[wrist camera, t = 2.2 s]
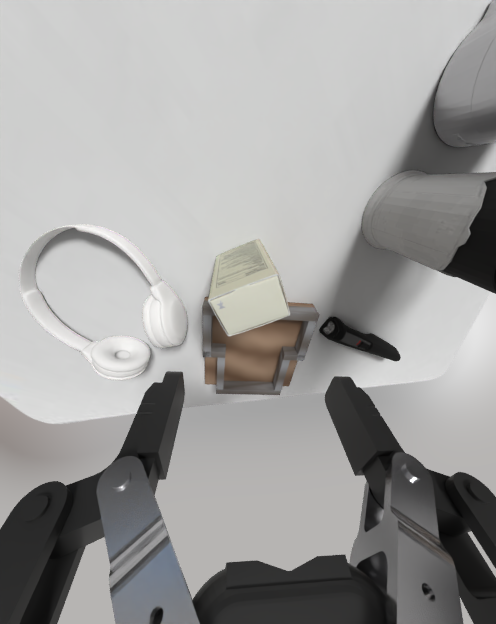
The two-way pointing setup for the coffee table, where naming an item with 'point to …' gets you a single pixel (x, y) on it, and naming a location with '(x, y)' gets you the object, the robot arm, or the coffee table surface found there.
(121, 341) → the headphones
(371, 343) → the electric trimmer
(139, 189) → the coffee table surface
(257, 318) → the skincare box
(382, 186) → the glass holder
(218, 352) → the keyhole board
